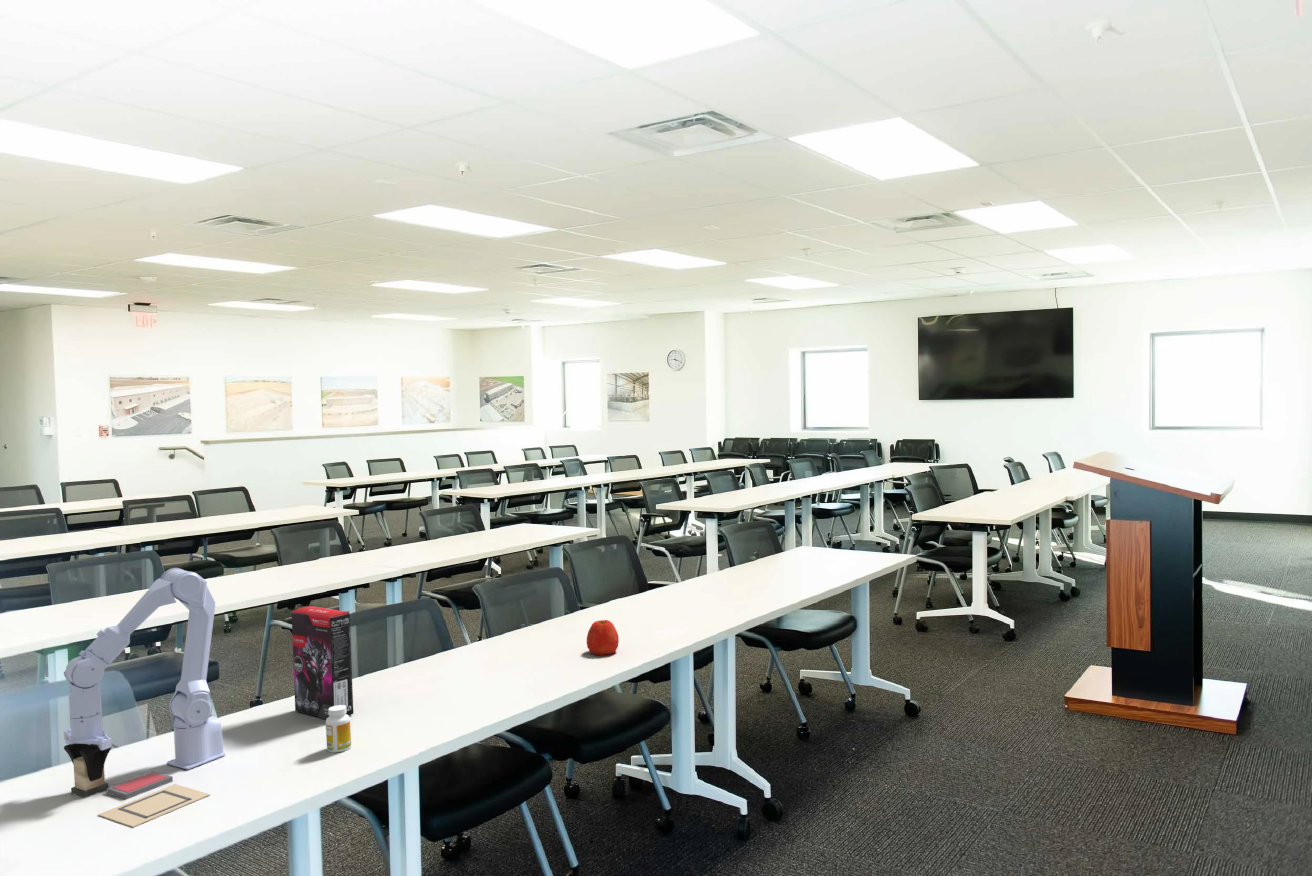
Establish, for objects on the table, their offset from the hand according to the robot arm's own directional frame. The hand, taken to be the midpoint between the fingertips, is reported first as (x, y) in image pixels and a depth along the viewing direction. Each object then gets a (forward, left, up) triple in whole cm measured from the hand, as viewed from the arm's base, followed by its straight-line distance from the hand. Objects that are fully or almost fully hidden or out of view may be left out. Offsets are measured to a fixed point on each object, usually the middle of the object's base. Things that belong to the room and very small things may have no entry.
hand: (89, 777), depth 191 cm
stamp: (0, 0, -3) cm, 3 cm away
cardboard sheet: (-2, +20, -3) cm, 20 cm away
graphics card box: (-56, +6, -3) cm, 56 cm away
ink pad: (-6, +8, -3) cm, 10 cm away
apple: (-135, +42, -3) cm, 141 cm away
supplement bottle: (-40, +30, -3) cm, 50 cm away
